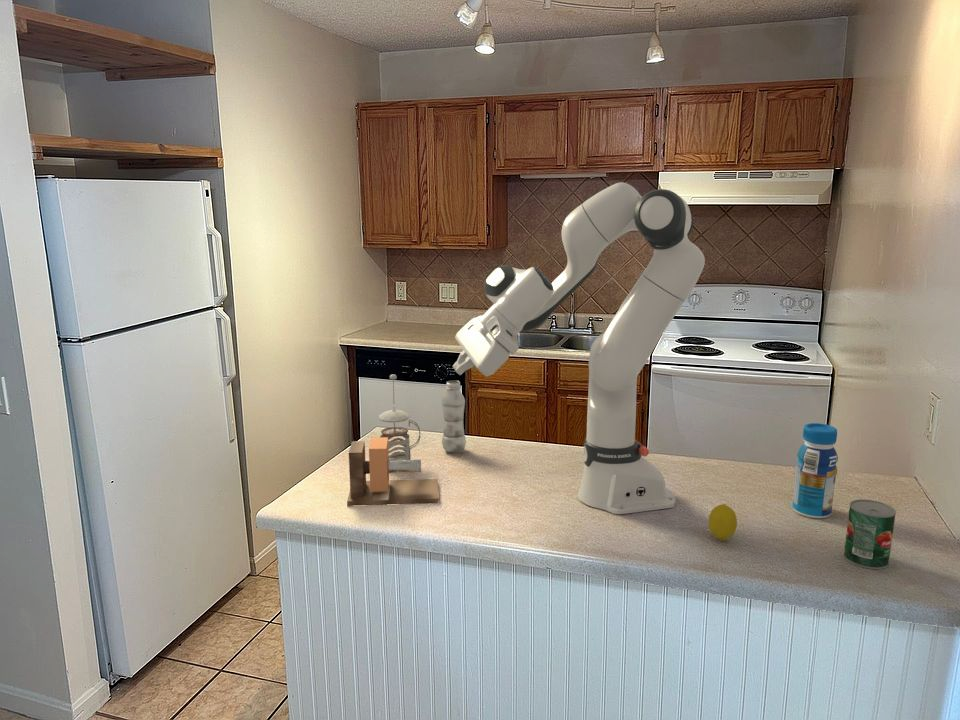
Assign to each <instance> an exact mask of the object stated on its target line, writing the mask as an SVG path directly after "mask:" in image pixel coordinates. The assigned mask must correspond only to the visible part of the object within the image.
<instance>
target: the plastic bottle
mask: <svg viewBox="0 0 960 720" xmlns="http://www.w3.org/2000/svg"><path fill="white" fill-rule="evenodd" d="M445 388H446V391H445V392H444V394H443V395H442V396H441V397H442V398H441V408H442V414H443V415H442V416H443V430H442V431H443V434H442V439H441V444H442V449H443V450H444V451H445V452H448V453H461V452H463V451H464V450H465V449H466V445H467V440H466V436H465V429H464V427H465V426H464V418H465V417H464V413H465V408H466V407H465V406H466V399H465V397H464V394H462V392H461V390H460V389H461V382H460V381H459V380H448V381H446V385H445Z"/></svg>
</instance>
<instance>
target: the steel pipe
mask: <svg viewBox="0 0 960 720" xmlns="http://www.w3.org/2000/svg"><path fill="white" fill-rule="evenodd" d="M387 468H388V473H389V474H406V473H408V474H410V473H415V474H416V473H422V460H421V459H411V460H388V461H387ZM364 474H366V475H370V467H369V460H365V461H364Z"/></svg>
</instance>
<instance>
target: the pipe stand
mask: <svg viewBox="0 0 960 720" xmlns="http://www.w3.org/2000/svg"><path fill="white" fill-rule="evenodd" d="M350 444H351V445H350V448H349V450H348V466H349V469H348V470H349V491H348V495H347V499H346V500H347V501H346V502H347V503H346V504H347V507H354V506H353V505H367V506H388V505H387V504H399V505H424V504H425V505H427V504H429V505H431V504H439V500H440V499H439V480H438V478H426V479H425V478H424V479H419V478H418V479H389V485H388V491H381V492H370V480H367V474H364V461H366V442H365V440H357V441H356V440H354V441H351V443H350ZM430 503H431V504H430Z"/></svg>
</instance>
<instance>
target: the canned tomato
mask: <svg viewBox="0 0 960 720" xmlns="http://www.w3.org/2000/svg"><path fill="white" fill-rule="evenodd" d="M849 502H850V503H849V511H848V517H847V525H846V526H847V527H846V533H845V542H844V549H843V550H844V551H843V558H844V559H845V560H846V561H847V562H849V564H852V565H854V566H857V567H860V568H863V569H868V570H882V569H883V570H884V569H886V568H888V567H889V565H890V557H891V556H890V555H891V549H892V542H893V536H894V528H895V520H896V514H897V510H896V509H895V508H894V507H893V506H891V505H889V504H886V503H884V502H882V501H876V500H871V499H861V498H860V499H855V500H851V501H849Z"/></svg>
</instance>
